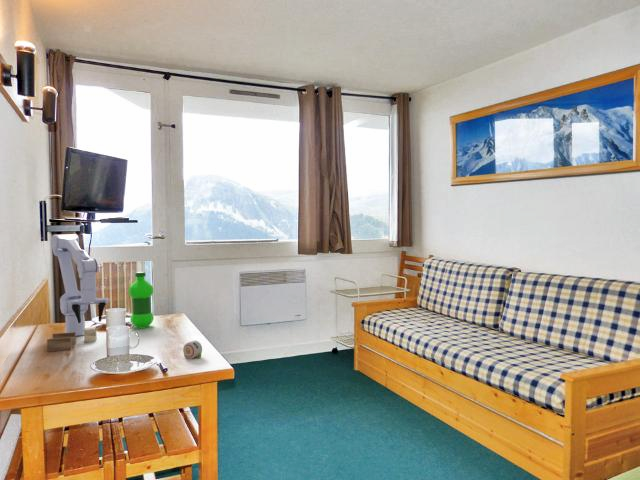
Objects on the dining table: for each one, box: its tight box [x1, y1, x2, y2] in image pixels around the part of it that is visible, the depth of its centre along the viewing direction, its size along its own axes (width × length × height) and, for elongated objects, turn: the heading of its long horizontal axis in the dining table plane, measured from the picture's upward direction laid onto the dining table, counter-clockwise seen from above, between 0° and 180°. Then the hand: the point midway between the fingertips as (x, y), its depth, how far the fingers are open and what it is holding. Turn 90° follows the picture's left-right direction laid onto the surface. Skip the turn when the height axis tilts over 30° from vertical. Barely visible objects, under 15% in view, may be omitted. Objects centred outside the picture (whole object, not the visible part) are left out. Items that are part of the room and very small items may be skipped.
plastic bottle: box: [128, 271, 154, 329], centre depth 225 cm, size 10×10×25 cm
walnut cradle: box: [46, 332, 77, 352], centre depth 191 cm, size 10×8×4 cm
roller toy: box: [182, 340, 203, 360], centre depth 173 cm, size 4×6×6 cm
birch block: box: [83, 326, 98, 343], centre depth 202 cm, size 4×4×5 cm
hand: (89, 321), depth 201 cm, fingers open, 7 cm apart
